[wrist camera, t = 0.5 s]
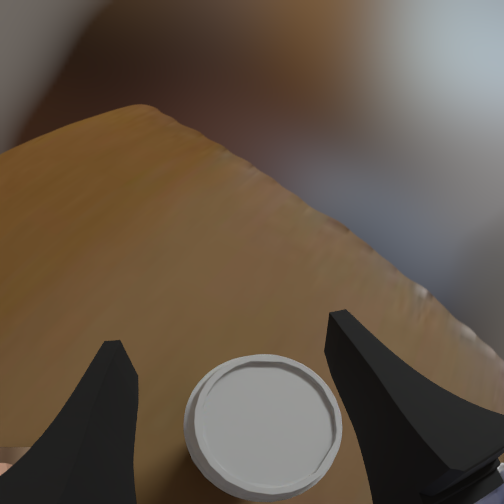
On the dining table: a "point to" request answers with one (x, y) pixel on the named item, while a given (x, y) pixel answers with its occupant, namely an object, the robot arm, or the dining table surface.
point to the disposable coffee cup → (262, 427)
